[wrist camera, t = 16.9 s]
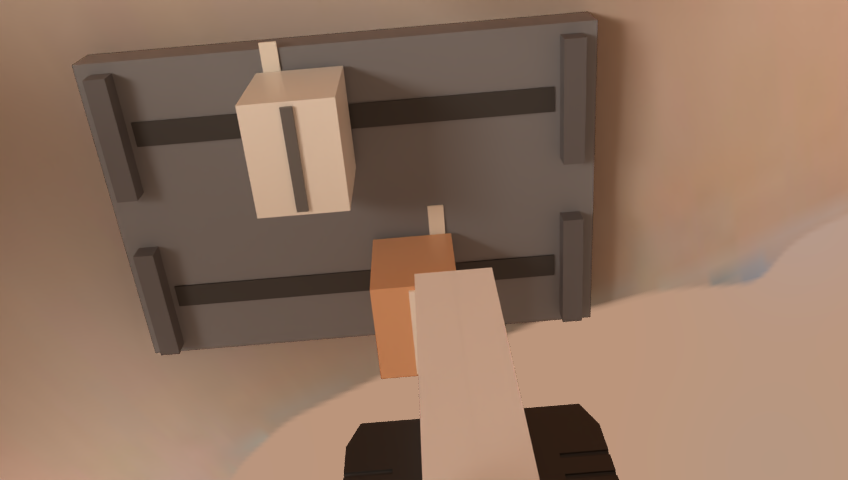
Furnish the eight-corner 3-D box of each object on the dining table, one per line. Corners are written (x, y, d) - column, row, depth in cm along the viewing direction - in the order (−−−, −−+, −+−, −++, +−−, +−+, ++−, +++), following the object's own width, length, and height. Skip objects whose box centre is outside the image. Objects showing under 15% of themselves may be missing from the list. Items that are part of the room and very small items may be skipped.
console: (166, 336, 44) (151, 368, 41) (85, 48, 36) (61, 64, 34) (582, 302, 44) (594, 331, 41) (588, 5, 36) (603, 17, 34)
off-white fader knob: (274, 174, 37) (256, 220, 33) (255, 73, 35) (234, 106, 30) (355, 167, 37) (350, 212, 33) (343, 65, 35) (334, 98, 30)
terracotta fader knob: (383, 321, 41) (381, 380, 37) (372, 239, 39) (369, 291, 34) (456, 315, 41) (464, 373, 37) (451, 233, 39) (458, 284, 34)
